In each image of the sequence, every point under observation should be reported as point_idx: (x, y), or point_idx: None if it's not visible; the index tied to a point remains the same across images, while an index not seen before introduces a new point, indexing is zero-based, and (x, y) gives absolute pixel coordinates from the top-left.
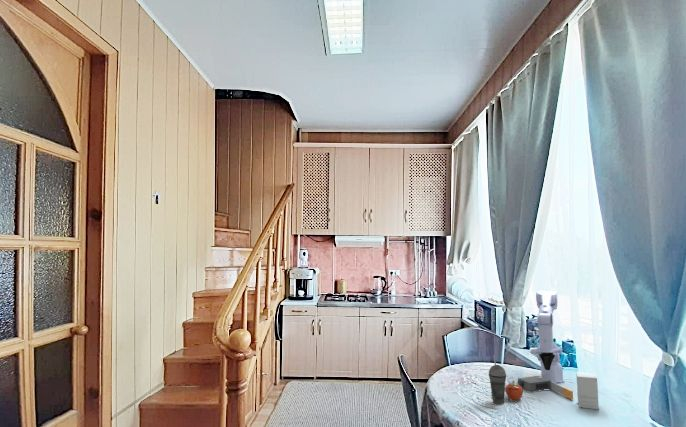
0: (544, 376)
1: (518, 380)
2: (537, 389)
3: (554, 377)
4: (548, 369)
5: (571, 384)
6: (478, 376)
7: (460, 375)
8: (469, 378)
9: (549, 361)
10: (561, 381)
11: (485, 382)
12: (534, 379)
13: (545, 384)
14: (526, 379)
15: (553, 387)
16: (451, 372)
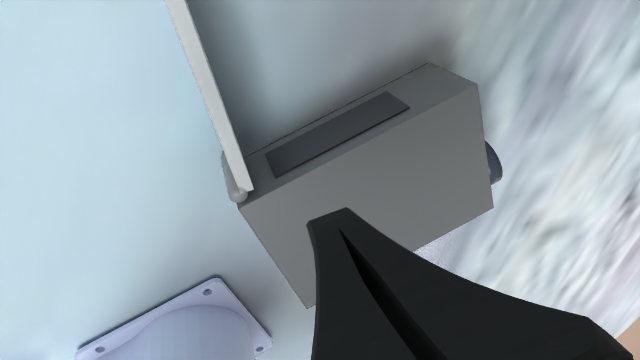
0: (242, 342)
1: (500, 177)
2: (373, 97)
3: (163, 344)
4: (335, 215)
5: (16, 319)
6: (549, 299)
7: (609, 291)
8: (603, 261)
9: (378, 307)
10: (102, 341)
11: (576, 220)
12: (386, 203)
13: (302, 153)
14: (451, 189)
15: (231, 125)
16: (615, 316)
